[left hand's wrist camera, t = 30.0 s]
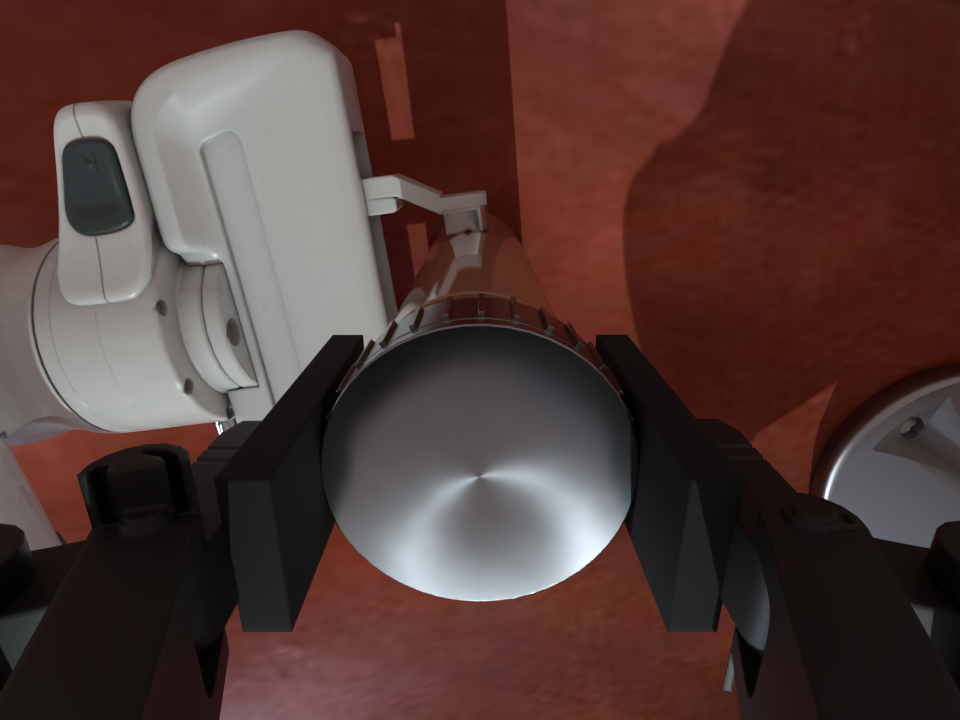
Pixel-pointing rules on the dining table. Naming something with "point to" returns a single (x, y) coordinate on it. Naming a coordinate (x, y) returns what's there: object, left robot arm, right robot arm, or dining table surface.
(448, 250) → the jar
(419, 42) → the dining table surface
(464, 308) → the lid
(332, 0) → the dining table surface
